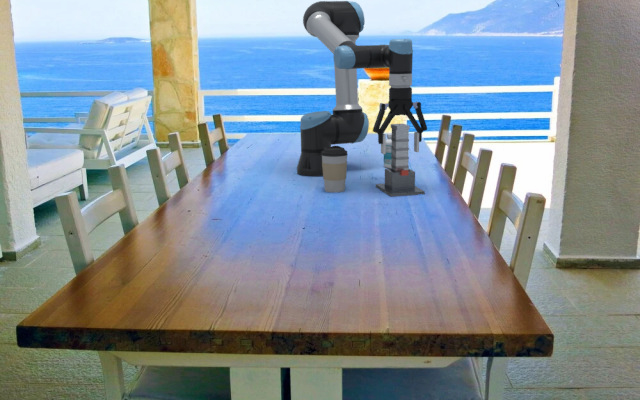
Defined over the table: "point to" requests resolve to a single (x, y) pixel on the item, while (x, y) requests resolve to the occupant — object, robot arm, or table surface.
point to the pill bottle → (388, 152)
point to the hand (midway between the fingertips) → (399, 152)
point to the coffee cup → (334, 168)
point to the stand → (400, 183)
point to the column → (399, 147)
